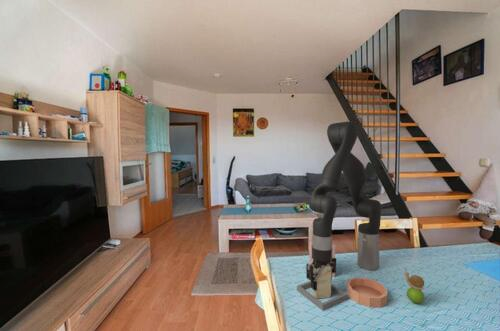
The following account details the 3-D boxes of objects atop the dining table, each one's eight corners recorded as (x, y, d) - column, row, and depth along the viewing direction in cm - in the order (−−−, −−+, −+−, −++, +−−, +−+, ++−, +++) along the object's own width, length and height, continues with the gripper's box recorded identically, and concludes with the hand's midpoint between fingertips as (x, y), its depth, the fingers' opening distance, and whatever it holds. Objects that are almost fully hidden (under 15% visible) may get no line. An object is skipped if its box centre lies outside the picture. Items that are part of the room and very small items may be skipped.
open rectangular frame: (320, 281, 103) (320, 277, 103) (347, 299, 91) (347, 294, 90) (297, 290, 97) (297, 285, 97) (322, 310, 84) (322, 305, 84)
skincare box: (316, 299, 91) (316, 268, 90) (311, 292, 95) (311, 262, 95) (331, 297, 92) (332, 267, 91) (326, 290, 96) (326, 261, 95)
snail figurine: (404, 295, 93) (405, 265, 92) (424, 301, 89) (425, 270, 88) (402, 301, 89) (403, 270, 88) (423, 309, 85) (425, 276, 84)
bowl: (362, 282, 102) (362, 274, 102) (395, 299, 90) (395, 291, 90) (339, 291, 96) (339, 283, 95) (371, 312, 83) (372, 302, 83)
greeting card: (308, 272, 111) (309, 241, 110) (312, 265, 118) (312, 235, 117) (334, 278, 106) (335, 245, 105) (336, 270, 113) (336, 239, 112)
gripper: (327, 239, 99) (327, 277, 100) (301, 245, 92) (300, 286, 93) (342, 245, 92) (341, 286, 94) (315, 253, 86) (314, 297, 87)
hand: (321, 286), depth 93 cm, fingers closed on skincare box, 7 cm apart
